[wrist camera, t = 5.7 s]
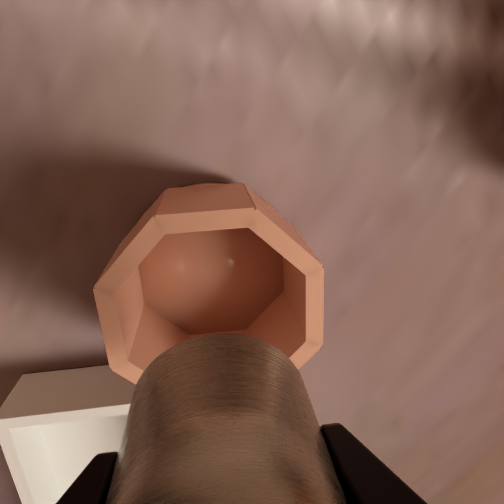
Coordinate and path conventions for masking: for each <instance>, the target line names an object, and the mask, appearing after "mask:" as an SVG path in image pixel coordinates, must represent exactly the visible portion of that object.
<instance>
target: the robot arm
mask: <svg viewBox="0 0 504 504" xmlns="http://www.w3.org/2000/svg"><path fill="white" fill-rule="evenodd" d="M320 429H321V432H322V435H323V438H324V440H325V443H326V446H327V449H328V451H329V454H330V457H331V460H332V463H333V465H334V468H335V471H336V474H337V476H338V479H339V482H340V485H341V487H342V490H343V493H344V496H345V499H346V501H347V504H427V503H426V502H425V501H424V500H423V499H422V498H421V497H419V496H418V495H417V494H416V493H415V492H414V491H413V490H412V489H411V488H410V487H409V486H408V485H406V484H405V483H404V482H403V481H402V480H401V479H400V478H399V477H398V476H397V475H396V474H395V473H393V472H392V471H391V470H390V469H389V468H388V467H387V466H386V465H385V464H384V463H383V462H382V461H380V460H379V459H378V458H377V457H376V456H375V455H374V454H373V453H372V452H371V451H370V450H369V449H367V448H366V447H365V446H364V445H363V444H362V443H361V442H360V441H359V440H358V439H357V438H356V437H354V436H353V435H352V434H351V433H350V432H349V431H348V430H347V429H346V428H345V427H344V426H343V425H341V424H339V423H333V424H325V425H322V426H321V427H320ZM117 456H118V452H116V451H114V452H106V453H99V454H97V455H96V456H95V457H94V458H93V459H92V460H91V461H90V463H89V464H88V465H87V466H86V467H85V469H84V470H83V471H82V472H81V473H80V475H79V476H78V477H77V478H76V480H75V481H74V482H73V483H72V484H71V486H70V487H69V488H68V489H67V490H66V492H65V493H64V494H63V495H62V497H61V498H60V499H59V500H58V501H57V503H56V504H106V500H107V496H108V492H109V488H110V484H111V480H112V476H113V472H114V468H115V464H116V460H117Z"/></svg>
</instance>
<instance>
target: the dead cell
mask: <svg viewBox="0 0 504 504" xmlns="http://www.w3.org/2000/svg"><path fill="white" fill-rule="evenodd" d="M106 504H347V501H346V499H345V496H344V493H343V490H342V487H341V485H340V482H339V479H338V476H337V474H336V471H335V468H334V465H333V463H332V460H331V457H330V454H329V451H328V449H327V446H326V443H325V440H324V438H323V435H322V432H321V429H320V426H319V424H318V421H317V418H316V415H315V413H314V410H313V407H312V404H311V402H310V399H309V396H308V393H307V390H306V388H305V385H304V382H303V380H302V377H301V375H300V373H299V371H298V369H297V368H296V366H295V365H294V363H293V362H292V361H291V360H290V359H289V358H288V356H286V355H285V354H284V353H283V352H282V351H280V350H279V349H278V348H276V347H274V346H273V345H271V344H269V343H267V342H265V341H263V340H260V339H257V338H254V337H251V336H246V335H241V334H232V333H217V334H208V335H202V336H198V337H195V338H191V339H188V340H186V341H183V342H181V343H178V344H176V345H174V346H173V347H171V348H169V349H167V350H166V351H165V352H163V353H162V354H160V355H159V356H158V357H157V358H156V359H155V360H153V361H152V362H151V363H150V364H149V366H148V367H147V368H146V369H145V370H144V372H143V373H142V375H141V377H140V378H139V380H138V382H137V384H136V387H135V389H134V392H133V396H132V400H131V404H130V408H129V412H128V416H127V420H126V424H125V428H124V432H123V436H122V440H121V444H120V448H119V452H118V456H117V460H116V464H115V468H114V472H113V476H112V480H111V484H110V488H109V492H108V496H107V500H106Z"/></svg>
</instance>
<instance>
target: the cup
mask: <svg viewBox="0 0 504 504" xmlns="http://www.w3.org/2000/svg"><path fill="white" fill-rule="evenodd" d="M93 292H94V297H95V301H96V306H97V311H98V315H99V320H100V325H101V329H102V334H103V339H104V343H105V348H106V353H107V357H108V362H109V367H110V368H112V369H111V370H112V371H114V372H115V373H117V374H119V375H120V376H122V377H124V378H125V379H127V380H129V381H130V382H132V383H134V384H137V382H138V380H139V378H140V377H141V375H142V373H143V372H144V370H145V369H146V368H147V367H148V366H149V364H150V363H151V362H152V361H153V360H155V359H156V358H157V357H158V356H159V355H160V354H162V353H163V352H165V351H166V350H167V349H169V348H171V347H173V346H174V345H176V344H178V343H181V342H183V341H186V340H188V339H191V338H195V337H198V336H202V335H208V334H217V333H232V334H241V335H246V336H251V337H254V338H257V339H260V340H263V341H265V342H267V343H269V344H271V345H273V346H274V347H276V348H278V349H279V350H280V351H282V352H283V353H284V354H285V355H286V356H288V358H289V359H290V360H291V361H292V362H293V363H294V365H295V366H296V368H297V369H299V368H300V367H301V366H303V365H304V364H305V363H306V362H307V361H308V360H309V359H310V358H311V357H312V356H313V355H314V354H315V353H316V352H317V351H318V350H319V349H320V348H321V347H322V346H321V345H323V307H324V267H323V265H322V264H321V262H320V261H319V259H318V258H317V257H316V255H315V254H314V253H313V251H312V250H311V249H310V247H309V246H308V245H307V243H306V242H305V241H304V239H303V238H302V237H301V235H300V234H299V233H298V231H297V230H296V229H295V228H294V227H293V226H292V225H291V224H289V223H288V222H287V221H286V220H285V219H284V218H283V217H281V216H280V215H279V214H278V213H277V212H276V211H275V210H274V209H273V208H272V207H271V206H270V205H269V204H268V203H267V202H266V201H264V200H263V199H262V198H261V197H259V196H258V195H256V194H255V193H254V192H253V191H252V190H251V189H250V188H248V187H247V186H246V185H245V184H242V183H233V184H223V183H199V184H192V185H189V186H185V187H177V188H167V189H165V190H164V191H163V193H162V194H161V195H160V196H159V197H158V199H157V200H156V201H155V202H154V203H153V205H152V206H151V207H150V208H149V209H148V210H147V211H146V212H145V213H144V214H143V216H142V217H141V218H140V220H139V221H138V223H137V224H136V225H135V226H134V227H133V229H132V230H131V231H130V232H129V233H128V235H127V236H126V237H125V238H124V239H123V241H122V242H121V243H120V244H119V246H118V248H117V249H116V251H115V253H114V254H113V256H112V257H111V259H110V261H109V262H108V264H107V266H106V267H105V269H104V271H103V272H102V274H101V276H100V277H99V279H98V280H97V282H96V284H95V285H94V288H93Z"/></svg>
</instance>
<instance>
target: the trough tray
mask: <svg viewBox="0 0 504 504" xmlns="http://www.w3.org/2000/svg"><path fill="white" fill-rule="evenodd" d="M111 369H112V368H110V367H109V365H104V366H95V367H86V368H77V369H67V370H58V371H49V372H40V373H31V374H23V375H22V376H21V378H20V379H19V381H18V382H17V384H16V385H15V387H14V388H13V390H12V391H11V392H10V394H9V395H8V397H7V398H6V400H5V401H4V403H3V404H2V406H1V407H0V445H1V447H2V450H3V453H4V456H5V458H6V461H7V464H8V467H9V469H10V472H11V475H12V478H13V480H14V483H15V486H16V489H17V491H18V494H19V497H20V500H21V502H22V504H56V503H57V501H58V500H59V499H60V498H61V497H62V495H63V494H64V493H65V492H66V490H67V489H68V488H69V487H70V486H71V484H72V483H73V482H74V481H75V480H76V478H77V477H78V476H79V475H80V473H81V472H82V471H83V470H84V469H85V467H86V466H87V465H88V464H89V463H90V461H91V460H92V459H93V458H94V457H95V456H96V455H97V454H99V453H106V452H114V451H116V452H119V448H120V444H121V440H122V436H123V432H124V428H125V424H126V420H127V416H128V412H129V408H130V404H131V400H132V396H133V392H134V389H135V387H136V384H134V383H132V382H130V381H129V380H127V379H125V378H124V377H122V376H120V375H119V374H117V373H115V372H114V371H112V370H111Z"/></svg>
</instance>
